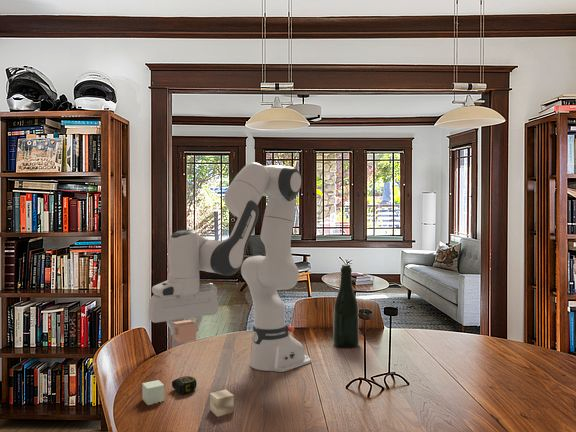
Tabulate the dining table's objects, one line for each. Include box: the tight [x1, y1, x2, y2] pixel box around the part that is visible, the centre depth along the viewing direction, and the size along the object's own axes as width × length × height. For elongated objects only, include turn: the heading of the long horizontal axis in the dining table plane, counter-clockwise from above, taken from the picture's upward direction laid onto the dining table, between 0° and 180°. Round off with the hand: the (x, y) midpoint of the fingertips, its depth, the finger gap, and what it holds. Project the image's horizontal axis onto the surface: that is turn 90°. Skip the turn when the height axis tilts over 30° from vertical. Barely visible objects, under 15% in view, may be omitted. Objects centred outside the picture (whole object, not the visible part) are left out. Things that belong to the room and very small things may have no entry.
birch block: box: [209, 389, 235, 417], centre depth 141 cm, size 5×5×5 cm
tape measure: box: [171, 375, 198, 395], centre depth 155 cm, size 7×7×4 cm
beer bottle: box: [332, 263, 360, 349], centre depth 202 cm, size 10×10×33 cm
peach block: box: [172, 319, 197, 344], centre depth 144 cm, size 5×5×5 cm
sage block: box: [141, 379, 165, 406], centre depth 148 cm, size 5×5×5 cm
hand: (184, 333), depth 144 cm, fingers closed on peach block, 5 cm apart
